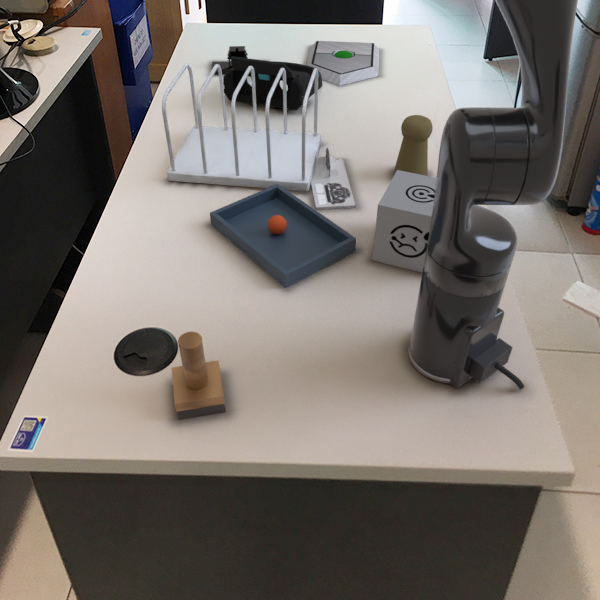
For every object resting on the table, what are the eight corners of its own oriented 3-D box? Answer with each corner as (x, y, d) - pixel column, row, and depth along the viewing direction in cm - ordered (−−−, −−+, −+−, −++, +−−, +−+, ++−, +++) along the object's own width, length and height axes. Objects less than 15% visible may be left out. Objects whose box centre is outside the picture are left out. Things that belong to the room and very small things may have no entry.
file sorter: (167, 182, 111) (152, 97, 100) (194, 134, 123) (183, 55, 113) (308, 192, 108) (307, 105, 97) (321, 142, 120) (322, 61, 110)
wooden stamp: (220, 376, 78) (212, 318, 71) (225, 412, 74) (218, 354, 67) (174, 383, 77) (162, 325, 70) (177, 420, 73) (165, 362, 66)
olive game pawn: (426, 186, 110) (435, 128, 102) (391, 183, 110) (398, 125, 103) (428, 169, 114) (437, 112, 106) (394, 165, 115) (401, 108, 107)
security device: (301, 84, 141) (301, 75, 139) (310, 46, 157) (311, 38, 155) (378, 88, 139) (378, 79, 138) (379, 49, 156) (380, 41, 154)
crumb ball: (290, 233, 99) (290, 217, 97) (275, 240, 98) (275, 225, 96) (279, 224, 101) (278, 209, 99) (264, 231, 99) (263, 216, 97)
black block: (210, 75, 144) (208, 55, 141) (212, 62, 150) (210, 43, 146) (265, 73, 145) (264, 53, 141) (264, 61, 150) (263, 41, 147)
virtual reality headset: (214, 104, 130) (213, 54, 125) (255, 80, 148) (255, 35, 142) (299, 117, 126) (301, 65, 120) (330, 90, 143) (334, 44, 138)
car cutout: (306, 163, 115) (306, 140, 112) (342, 161, 116) (343, 139, 113) (315, 209, 104) (316, 186, 101) (355, 207, 105) (357, 184, 102)
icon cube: (452, 238, 99) (463, 183, 92) (437, 276, 92) (448, 220, 85) (390, 224, 101) (397, 169, 95) (372, 260, 95) (377, 204, 88)
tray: (355, 251, 96) (356, 238, 95) (285, 287, 90) (285, 275, 88) (278, 195, 108) (277, 183, 106) (210, 225, 101) (209, 212, 100)
